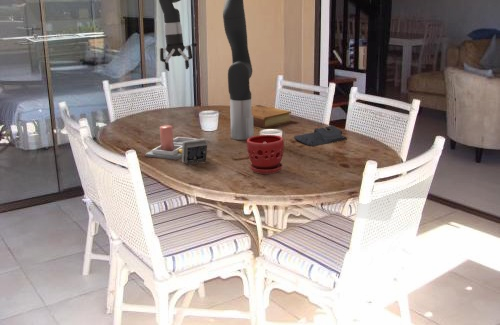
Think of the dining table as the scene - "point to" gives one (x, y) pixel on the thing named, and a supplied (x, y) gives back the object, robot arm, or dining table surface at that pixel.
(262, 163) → the plant pot
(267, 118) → the diary
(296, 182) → the dining table surface
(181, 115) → the dining table surface
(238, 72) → the robot arm
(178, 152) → the grey compartment tray
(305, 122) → the dining table surface
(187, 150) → the electrical switch
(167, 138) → the pink cylinder
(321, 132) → the dark slate chunk
